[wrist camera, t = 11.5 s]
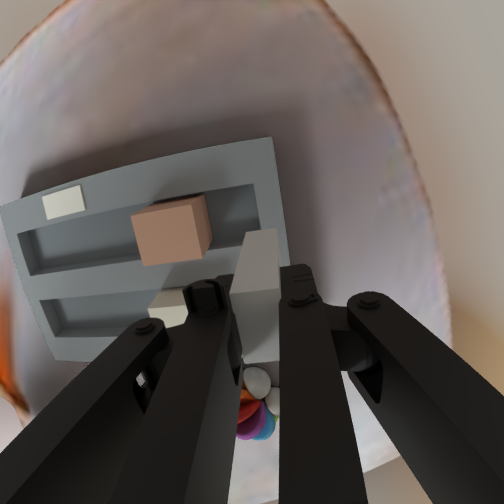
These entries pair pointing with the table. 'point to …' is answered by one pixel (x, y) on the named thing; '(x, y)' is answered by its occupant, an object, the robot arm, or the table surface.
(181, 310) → the cream block
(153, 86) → the table surface
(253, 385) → the multicolored rounded toy
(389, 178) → the table surface
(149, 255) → the tan block
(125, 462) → the robot arm
